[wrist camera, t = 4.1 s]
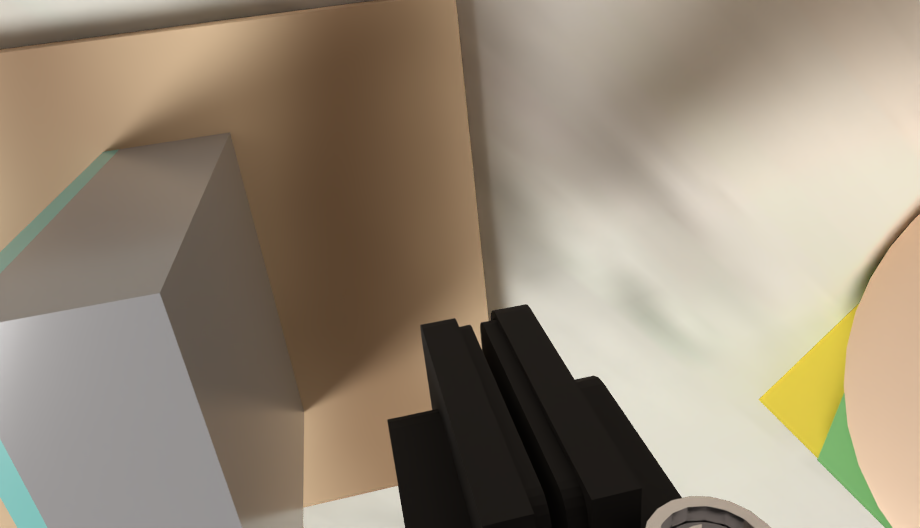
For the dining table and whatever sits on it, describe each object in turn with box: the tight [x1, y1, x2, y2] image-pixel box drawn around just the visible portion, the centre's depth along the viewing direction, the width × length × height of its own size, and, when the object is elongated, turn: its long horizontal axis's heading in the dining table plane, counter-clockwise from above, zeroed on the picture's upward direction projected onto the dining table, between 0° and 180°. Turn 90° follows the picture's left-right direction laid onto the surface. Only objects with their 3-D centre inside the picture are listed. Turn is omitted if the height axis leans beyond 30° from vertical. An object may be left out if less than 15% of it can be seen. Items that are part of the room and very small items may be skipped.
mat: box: [0, 0, 489, 528], centre depth 15 cm, size 18×12×1 cm, turn 96°
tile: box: [0, 132, 304, 528], centre depth 11 cm, size 2×7×7 cm, turn 6°
